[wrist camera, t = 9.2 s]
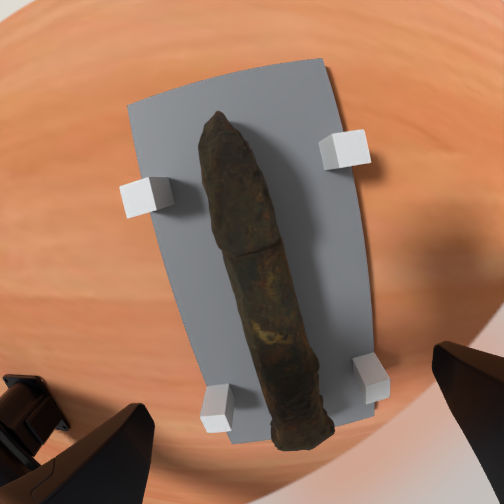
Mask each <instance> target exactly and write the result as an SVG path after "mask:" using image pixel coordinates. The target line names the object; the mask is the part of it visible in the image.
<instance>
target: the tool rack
mask: <svg viewBox="0 0 504 504" xmlns="http://www.w3.org/2000/svg"><path fill="white" fill-rule="evenodd" d="M127 108H128V113H129V119H130V125H131V130H132V135H133V140H134V145H135V150H136V155H137V160H138V164H139V169H140V173H141V178H142V179H141V180H138V181H135V182H132V183H129V184H126V185H123V186H120V191H121V196H122V200H123V204H124V208H125V212H126V216H127V219H128V218H131V217H135V216H138V215H141V214H145V213H148V212H150V215H151V218H152V222H153V226H154V230H155V233H156V237H157V241H158V244H159V248H160V251H161V255H162V258H163V262H164V265H165V268H166V272H167V275H168V278H169V281H170V284H171V288H172V291H173V294H174V297H175V300H176V303H177V306H178V309H179V312H180V315H181V318H182V321H183V324H184V327H185V330H186V332H187V335H188V338H189V341H190V344H191V346H192V349H193V352H194V354H195V357H196V360H197V362H198V365H199V368H200V370H201V373H202V375H203V378H204V380H205V383H206V385H207V388H206V392H205V396H204V400H203V405H202V409H201V413H200V419H201V421H202V423H203V425H204V427H205V429H206V431H207V433H215V432H227V435H228V437H229V439H230V441H231V443H232V444H238V443H248V442H256V441H264V440H271V425H270V422H271V420H272V417H271V415H270V413H269V411H268V408H267V405H266V402H265V399H264V396H263V393H262V390H261V386H260V383H259V380H258V376H257V373H256V370H255V367H254V364H253V361H252V357H251V354H250V350H249V347H248V344H247V342H246V338H245V335H244V331H243V327H242V322H241V318H240V315H239V313H238V309H237V304H236V299H235V295H234V293H233V290H232V287H231V283H230V280H229V277H228V273H227V270H226V267H225V264H224V261H223V255H222V251H221V249H219V248H218V246H217V244H216V241H215V238H214V235H213V233H212V229H211V218H210V213H209V205H208V197H207V194H206V192H205V189H204V187H203V185H202V177H201V166H200V161H199V153H198V144H199V140H200V136H201V134H202V133H203V127H204V124H205V123H206V122H207V121H209V120H210V118H211V117H212V116H213V115H214V114H215V112H216V111H220V112H222V113H224V115H225V116H226V118H227V119H228V121H229V122H230V124H231V125H232V126H233V127H234V128H235V129H237V130H238V131H239V132H240V133H241V135H242V137H243V138H244V140H246V141H247V142H248V143H249V146H250V149H252V151H253V154H254V156H255V159H256V162H257V165H258V167H259V168H260V170H261V171H262V173H263V176H264V179H265V181H266V184H267V186H268V190H269V194H270V197H271V199H272V204H273V206H274V209H275V215H276V221H277V225H278V229H279V232H280V235H281V237H282V240H283V244H284V248H285V253H286V258H287V262H288V265H289V269H290V273H291V277H292V281H293V285H294V289H295V293H296V297H297V301H298V305H299V308H300V312H301V315H302V318H303V323H304V327H305V332H306V335H307V338H308V342H309V345H310V347H311V348H312V350H313V351H314V353H315V354H316V356H317V358H318V360H319V363H320V368H319V371H318V374H319V390H320V392H319V394H320V395H322V397H323V408H324V409H325V410H326V411H327V415H328V416H329V417H330V418H331V419H332V420H333V422H334V425H335V427H336V426H340V425H344V424H348V423H352V422H355V421H359V420H362V419H366V418H369V417H372V416H374V407H375V402H376V401H379V400H382V399H385V398H388V397H390V377H389V376H388V374H387V372H386V371H385V369H384V367H383V366H382V364H381V362H380V361H379V359H378V358H377V356H376V354H375V353H374V338H373V321H372V307H371V295H370V284H369V275H368V266H367V258H366V250H365V242H364V235H363V229H362V222H361V216H360V210H359V204H358V198H357V193H356V187H355V182H354V177H353V172H352V167H351V166H354V165H360V164H367V163H371V159H370V154H369V149H368V145H367V140H366V136H365V132H364V129H363V130H355V131H348V132H343V128H342V124H341V120H340V116H339V113H338V109H337V105H336V102H335V98H334V94H333V91H332V88H331V84H330V81H329V78H328V74H327V71H326V68H325V65H324V62H323V59H322V58H318V59H309V60H301V61H294V62H287V63H280V64H274V65H268V66H263V67H258V68H253V69H248V70H243V71H238V72H234V73H230V74H225V75H221V76H217V77H213V78H209V79H206V80H202V81H198V82H195V83H191V84H188V85H185V86H181V87H178V88H175V89H172V90H169V91H166V92H163V93H160V94H157V95H154V96H151V97H149V98H146V99H143V100H140V101H138V102H135V103H133V104H130V105H127Z"/></svg>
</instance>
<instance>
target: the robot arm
mask: <svg viewBox="0 0 504 504" xmlns="http://www.w3.org/2000/svg"><path fill="white" fill-rule="evenodd" d="M432 371H433V374H434V376H435V378H436V380H437V382H438V385H439V387H440V389H441V391H442V393H443V395H444V398H445V400H446V402H447V404H448V406H449V409H450V410H451V412H452V414H453V416H454V417H455V419H456V421H457V423H458V424H459V426H460V428H461V429H462V431H463V433H464V435H465V436H466V438H467V440H468V442H469V444H470V445H471V447H472V449H473V451H474V453H475V454H476V456H477V458H478V460H479V462H480V464H481V466H482V468H483V470H484V472H485V474H486V476H487V478H488V480H489V481H490V483H491V486H492V488H493V490H494V492H495V494H496V496H497V498H498V500H499V502H500V504H504V357H500V356H497V355H493V354H489V353H486V352H483V351H479V350H476V349H473V348H469V347H466V346H462V345H459V344H456V343H452V342H449V341H444V342H441V343H438V344H436V345H435V346H434V350H433V360H432ZM3 380H4V381H5V383H6V385H7V387H8V388H9V389H8V390H7V391H6V392H5V393H4V394H3V395H2V396H1V397H0V504H142V502H143V497H144V492H145V488H146V483H147V479H148V474H149V470H150V464H151V456H152V447H153V439H154V430H155V424H154V421H153V419H152V417H151V416H150V414H149V412H148V410H147V408H146V407H145V405H144V404H142V403H131V404H129V405H128V406H127V407H125V408H124V409H122V410H121V411H120V412H118V413H117V414H116V415H114V416H113V417H112V418H110V419H109V420H107V421H106V422H105V423H103V424H102V425H100V426H99V427H98V428H96V429H95V430H93V431H92V432H91V433H89V434H88V435H86V436H85V437H83V438H82V439H81V440H79V441H78V442H76V443H75V444H73V445H72V446H71V447H69V448H68V449H66V450H65V451H63V452H62V453H60V454H59V455H57V456H56V458H53V459H51V460H50V461H48V462H47V463H45V464H44V465H42V466H41V465H40V464H39V463H38V462H37V461H36V460H35V459H34V458H33V457H35V455H36V454H37V452H38V451H39V449H40V448H41V446H42V445H44V444H45V443H46V441H47V440H48V438H49V437H50V435H51V434H52V433H53V431H54V430H55V429H57V430H64V431H69V429H70V425H69V424H68V422H67V421H66V420H65V418H64V417H63V415H62V414H61V412H60V410H59V409H58V407H57V406H56V404H55V403H54V401H53V399H52V398H51V396H50V395H49V393H48V391H47V389H46V388H45V386H44V384H43V383H42V381H41V379H40V378H39V377H37V376H21V375H4V376H3ZM32 456H33V457H32Z"/></svg>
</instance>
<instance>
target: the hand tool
mask: <svg viewBox="0 0 504 504" xmlns="http://www.w3.org/2000/svg"><path fill="white" fill-rule="evenodd" d="M198 153H199V161H200V166H201V177H202V185H203V187H204V189H205V192H206V194H207V197H208V205H209V213H210V218H211V229H212V233H213V235H214V238H215V241H216V244H217V246H218V248H219V249H221V251H222V255H223V261H224V264H225V267H226V270H227V273H228V277H229V280H230V283H231V287H232V290H233V293H234V295H235V299H236V304H237V309H238V313H239V315H240V318H241V322H242V327H243V331H244V335H245V338H246V342H247V344H248V347H249V350H250V354H251V357H252V361H253V364H254V367H255V370H256V373H257V376H258V380H259V383H260V386H261V390H262V393H263V396H264V399H265V402H266V405H267V408H268V411H269V413H270V415H271V417H272V420H271V422H270V425H271V440H272V442H273V443H274V444H275V447H277V448H278V450H281V451H299V450H311V449H313V448H315V447H316V446H318V445H319V444H320V443H322V442H323V441H325V440H326V439H328V438H329V437H331V436H332V435H333V434H334V432H335V429H334V428H335V425H334V422H333V420H332V419H331V418H330V417H329V416H328V415H327V411H326V410H325V409H324V408H323V397H322V395H320V394H319V392H320V390H319V374H318V371H319V368H320V363H319V360H318V358H317V356H316V354H315V353H314V351H313V350H312V348H311V347H310V345H309V342H308V338H307V335H306V332H305V327H304V323H303V318H302V315H301V312H300V308H299V305H298V301H297V297H296V293H295V289H294V285H293V281H292V277H291V273H290V269H289V265H288V262H287V258H286V253H285V248H284V244H283V240H282V237H281V235H280V232H279V229H278V225H277V221H276V215H275V209H274V206H273V204H272V199H271V197H270V194H269V190H268V186H267V184H266V181H265V179H264V176H263V173H262V171H261V170H260V168H259V167H258V165H257V162H256V159H255V156H254V154H253V151H252V149H250V146H249V143H248V142H247V141H246V140H244V138H243V137H242V135H241V133H240V132H239V131H238V130H237V129H235V128H234V127H233V126H232V125H231V124H230V122H229V121H228V119H227V118H226V116H225V115H224V113H222V112H220V111H216V112H215V114H214V115H213V116H212V117H211V118H210V120H209V121H207V122H206V123H205V124H204V127H203V133H202V134H201V136H200V140H199V144H198Z"/></svg>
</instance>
